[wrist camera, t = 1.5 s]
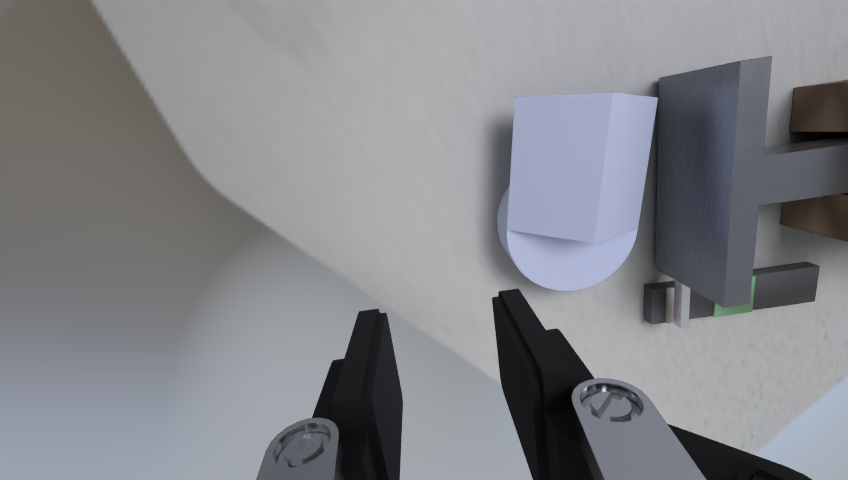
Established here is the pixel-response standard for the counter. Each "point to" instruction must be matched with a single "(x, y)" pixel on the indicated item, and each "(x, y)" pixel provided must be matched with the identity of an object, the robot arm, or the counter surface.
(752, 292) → the frame
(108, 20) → the counter surface
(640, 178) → the wedge on round base
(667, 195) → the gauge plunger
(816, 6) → the counter surface
